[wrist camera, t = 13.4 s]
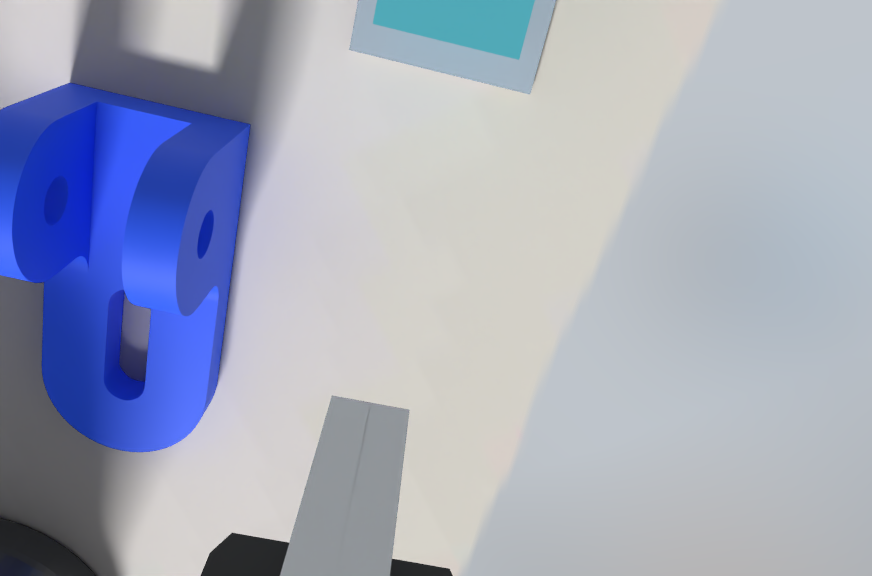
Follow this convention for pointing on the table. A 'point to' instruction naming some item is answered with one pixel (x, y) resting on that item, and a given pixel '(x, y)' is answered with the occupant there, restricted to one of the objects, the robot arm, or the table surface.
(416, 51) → the marker stand
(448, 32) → the teal block
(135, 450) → the bracket
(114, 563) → the table surface
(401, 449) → the robot arm
